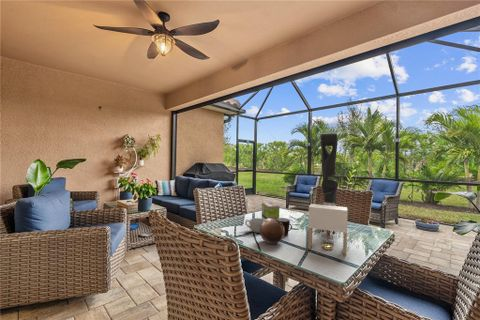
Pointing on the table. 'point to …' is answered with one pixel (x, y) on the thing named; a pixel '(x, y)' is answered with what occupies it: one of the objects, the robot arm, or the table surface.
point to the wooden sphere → (272, 230)
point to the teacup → (255, 224)
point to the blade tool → (327, 238)
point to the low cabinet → (328, 221)
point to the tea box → (270, 210)
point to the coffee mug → (285, 225)
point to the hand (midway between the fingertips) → (328, 233)
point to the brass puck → (327, 246)
